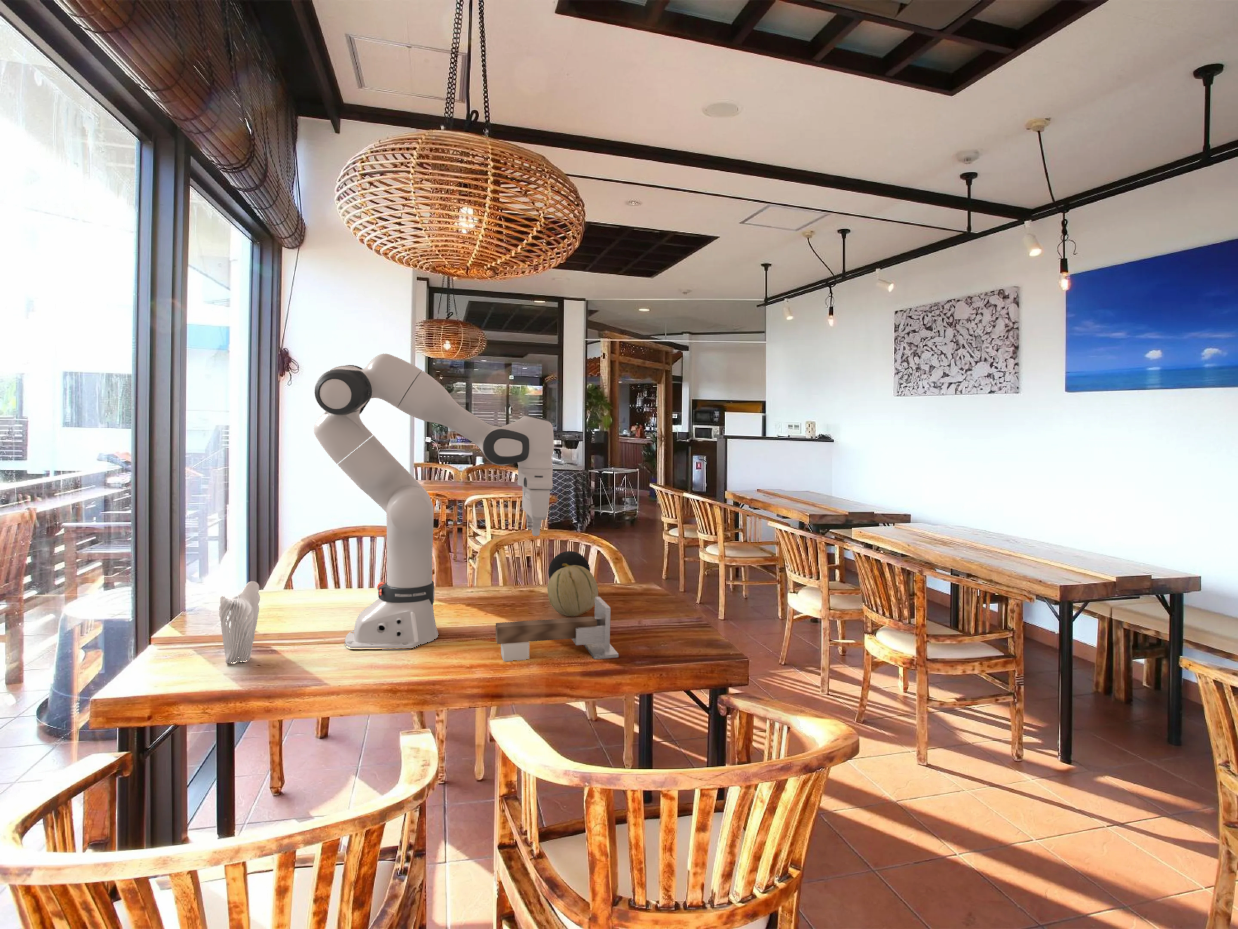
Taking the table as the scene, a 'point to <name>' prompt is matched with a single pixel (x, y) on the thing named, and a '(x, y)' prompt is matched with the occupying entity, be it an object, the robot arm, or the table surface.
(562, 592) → the cantaloupe
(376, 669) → the table surface
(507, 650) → the pale grey block
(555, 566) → the black rounded lump
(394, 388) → the robot arm
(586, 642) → the bracket
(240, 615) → the shell sculpture
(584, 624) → the walnut rail
